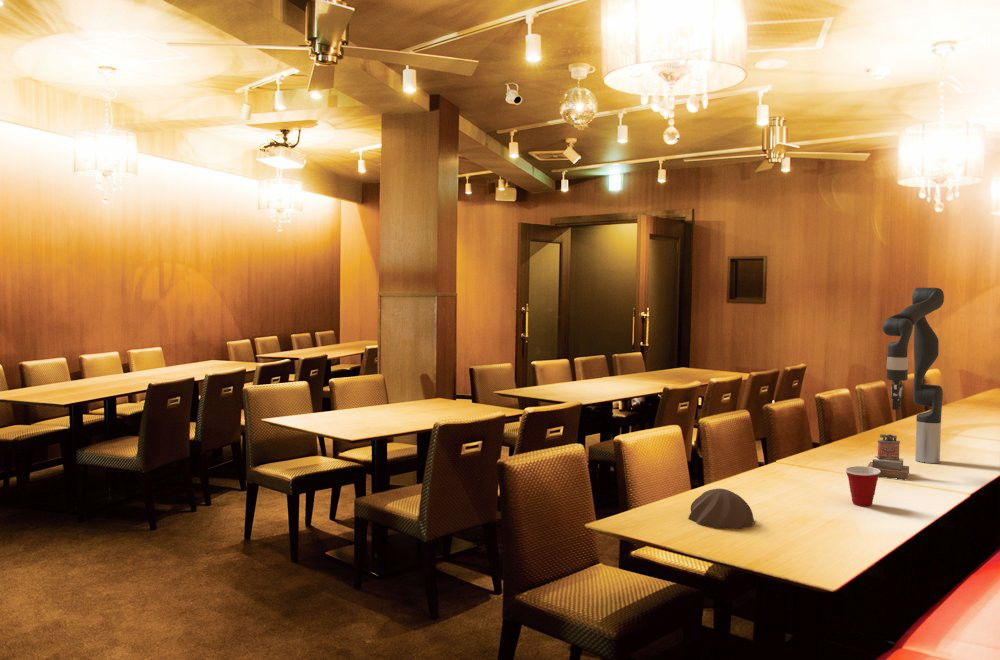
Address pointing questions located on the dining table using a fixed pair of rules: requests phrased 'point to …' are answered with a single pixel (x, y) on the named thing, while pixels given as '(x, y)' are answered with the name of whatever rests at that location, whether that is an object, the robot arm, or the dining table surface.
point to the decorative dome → (721, 510)
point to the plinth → (893, 472)
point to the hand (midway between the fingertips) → (896, 408)
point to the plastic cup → (862, 484)
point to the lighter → (888, 447)
